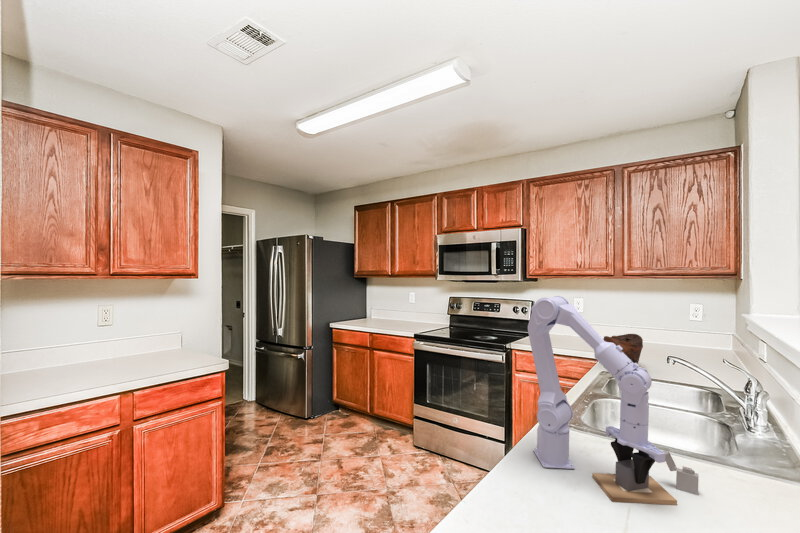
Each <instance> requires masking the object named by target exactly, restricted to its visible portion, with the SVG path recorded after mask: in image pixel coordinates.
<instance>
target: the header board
mask: <svg viewBox="0 0 800 533" xmlns="http://www.w3.org/2000/svg"><path fill="white" fill-rule="evenodd" d="M591 474H592V476H591V477H592V479H593V480H594V481H595V482H596V484H597V485H598V486H599V487H600V489H601V490H602V491H603V492H604V494H605V495H606V496H607V497H608V499H609V500H610V501H611V502H613V503H614V502H615V503H631V504H632V503H633V504H646V505H647V504H648V505H649V504H650V505H651V504H652V505H670V506H672V505H673V506H677V505H678V499H676V497H674V496H673V495H672V494H671V493H669V492H668V491H667V490H666V488H664V487H663V486H662V485H661V484H660V483H659V482H657V480H655V478H653V477H652V476H651V475H649V488H643V489H638V490H632V491H627V490H625V489H624V488H623V487H621V486H620V485H618V484H617V483H615V474H616V473H599V472H592V473H591Z"/></svg>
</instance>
